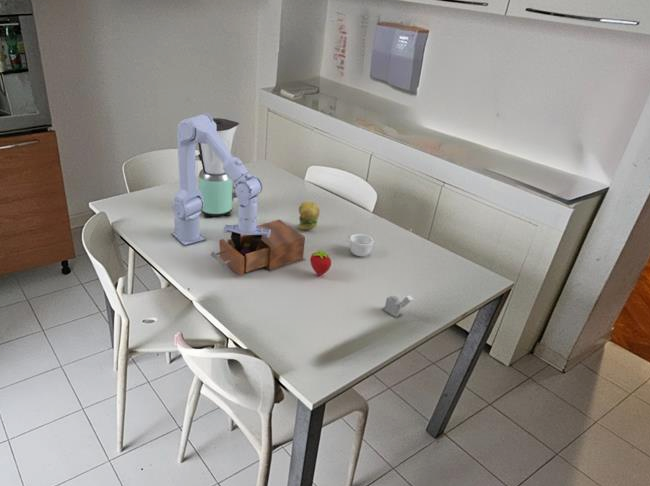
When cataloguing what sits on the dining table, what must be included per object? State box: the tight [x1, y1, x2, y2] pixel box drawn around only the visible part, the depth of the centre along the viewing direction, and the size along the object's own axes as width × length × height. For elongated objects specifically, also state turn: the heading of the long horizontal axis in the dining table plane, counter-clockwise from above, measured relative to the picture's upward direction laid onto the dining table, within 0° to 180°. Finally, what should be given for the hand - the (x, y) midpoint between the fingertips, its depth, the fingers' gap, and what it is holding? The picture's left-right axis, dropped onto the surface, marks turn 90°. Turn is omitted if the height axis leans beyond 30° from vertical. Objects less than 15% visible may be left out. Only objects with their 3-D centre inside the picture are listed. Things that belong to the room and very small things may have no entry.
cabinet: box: [252, 219, 306, 271], centre depth 174 cm, size 14×14×9 cm
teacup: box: [346, 233, 374, 258], centre depth 178 cm, size 10×8×5 cm
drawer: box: [210, 234, 270, 277], centre depth 167 cm, size 17×13×7 cm
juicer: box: [195, 117, 240, 218], centre depth 193 cm, size 19×13×35 cm
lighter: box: [383, 294, 414, 318], centre depth 148 cm, size 7×2×8 cm, turn 39°
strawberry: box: [309, 249, 332, 277], centre depth 163 cm, size 6×8×10 cm
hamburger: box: [297, 201, 321, 231], centre depth 188 cm, size 8×7×12 cm
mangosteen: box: [240, 243, 253, 259], centre depth 168 cm, size 4×4×5 cm
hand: (246, 253), depth 169 cm, fingers closed on mangosteen, 4 cm apart
